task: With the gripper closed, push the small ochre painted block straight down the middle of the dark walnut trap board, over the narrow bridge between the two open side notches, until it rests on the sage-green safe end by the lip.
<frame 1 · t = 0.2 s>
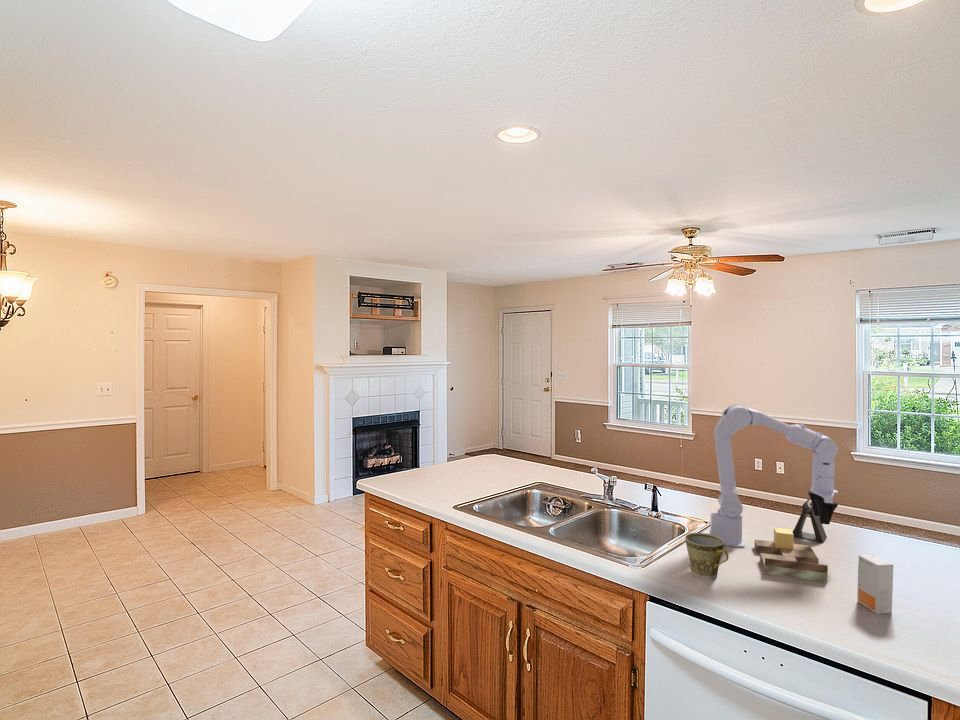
hand: (821, 519, 163), 10 cm above the worktop, fingers open, 7 cm apart
skincare box: (874, 608, 130), on the worktop
block: (783, 545, 163), point 2 cm above the worktop, touching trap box
ceramic cup: (708, 577, 148), on the worktop
phone stand: (808, 537, 176), on the worktop
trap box: (788, 563, 156), on the worktop
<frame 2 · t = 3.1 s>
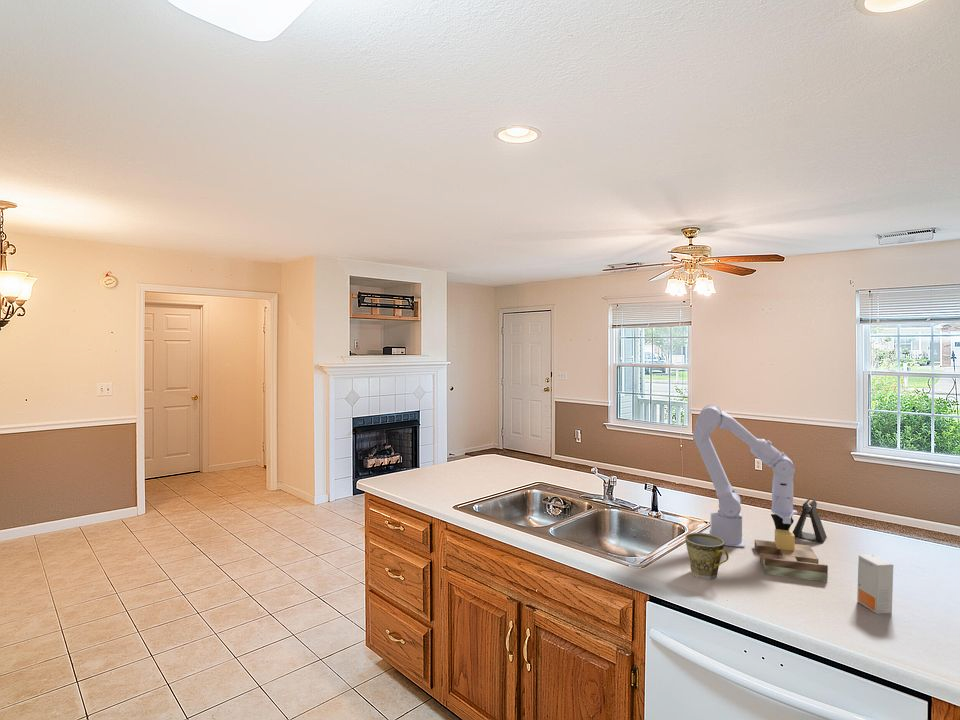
hand: (781, 539, 165), 3 cm above the worktop, fingers closed
block: (784, 546, 162), point 2 cm above the worktop, touching gripper, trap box
everything else where it was.
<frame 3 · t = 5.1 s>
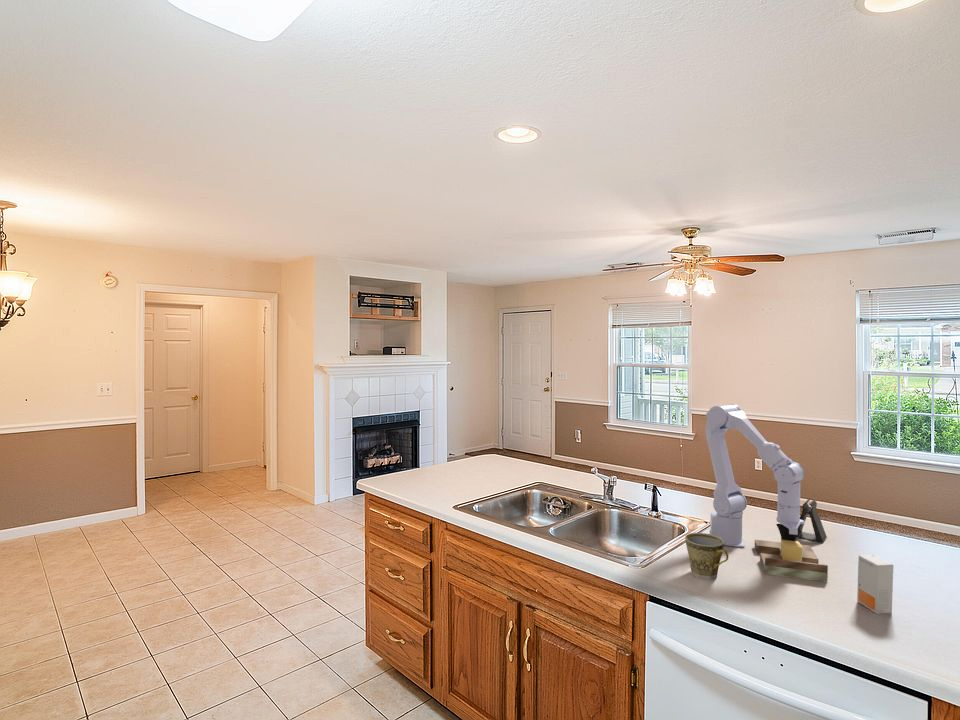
hand: (787, 550, 157), 3 cm above the worktop, fingers closed
block: (791, 558, 153), point 2 cm above the worktop, touching gripper
everything else where it was.
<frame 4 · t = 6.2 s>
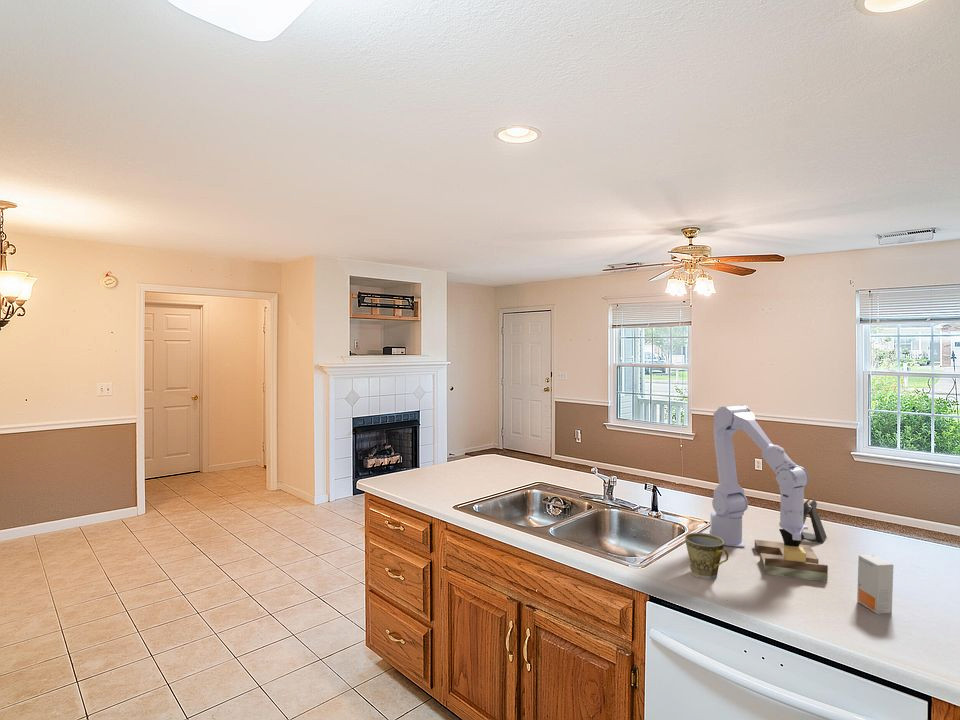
hand: (790, 556, 153), 3 cm above the worktop, fingers closed
block: (794, 565, 149), point 2 cm above the worktop, touching gripper, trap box
everything else where it was.
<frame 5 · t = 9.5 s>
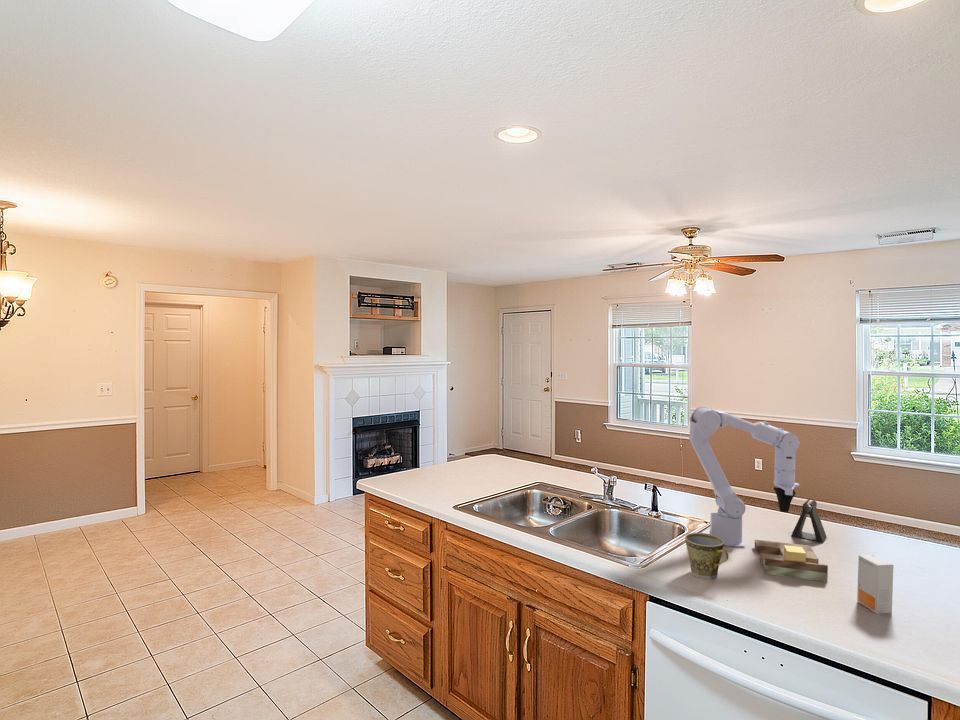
hand: (783, 511, 170), 10 cm above the worktop, fingers closed
block: (794, 565, 149), point 2 cm above the worktop, touching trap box
everything else where it was.
at the end: block 0.4 cm from the target spot on the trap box, point 2.4 cm above the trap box's base; block tilted 0°; block touching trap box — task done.
